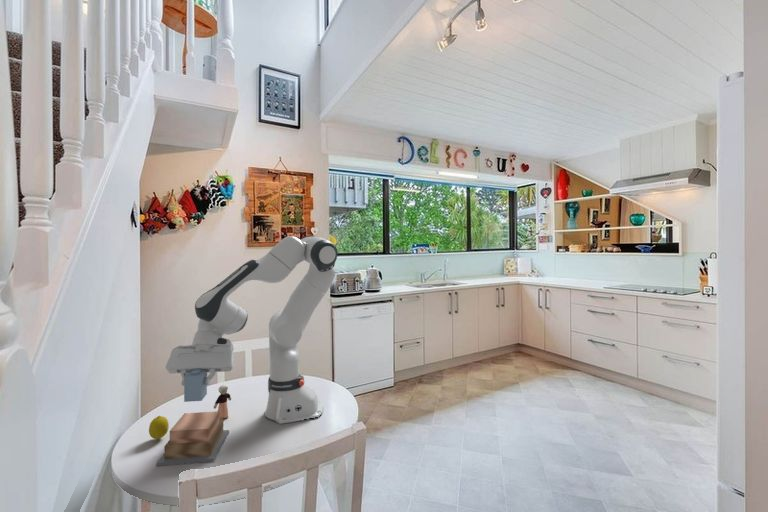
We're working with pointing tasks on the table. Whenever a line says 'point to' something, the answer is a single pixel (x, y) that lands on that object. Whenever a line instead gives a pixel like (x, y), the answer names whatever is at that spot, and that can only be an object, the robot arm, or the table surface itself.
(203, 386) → the blue knobbed block
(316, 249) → the robot arm
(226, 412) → the grandmother figurine
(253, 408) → the table surface
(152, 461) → the table surface
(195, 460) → the baseplate
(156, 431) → the lemon
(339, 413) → the table surface
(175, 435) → the terracotta brick
